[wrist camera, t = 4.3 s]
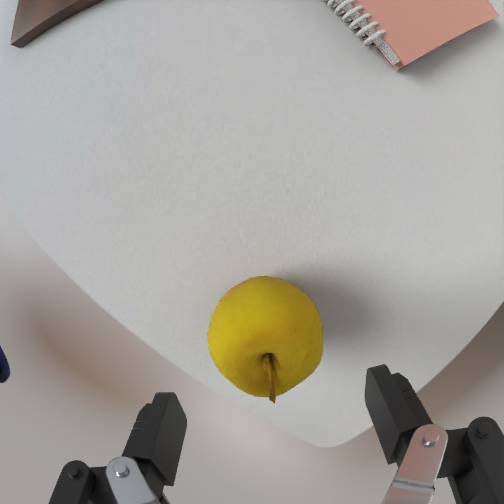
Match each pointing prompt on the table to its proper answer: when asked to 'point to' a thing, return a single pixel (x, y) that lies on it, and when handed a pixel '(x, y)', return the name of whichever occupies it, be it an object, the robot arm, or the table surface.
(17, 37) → the cutting board
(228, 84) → the table surface
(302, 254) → the table surface
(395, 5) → the notebook
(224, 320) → the apple
